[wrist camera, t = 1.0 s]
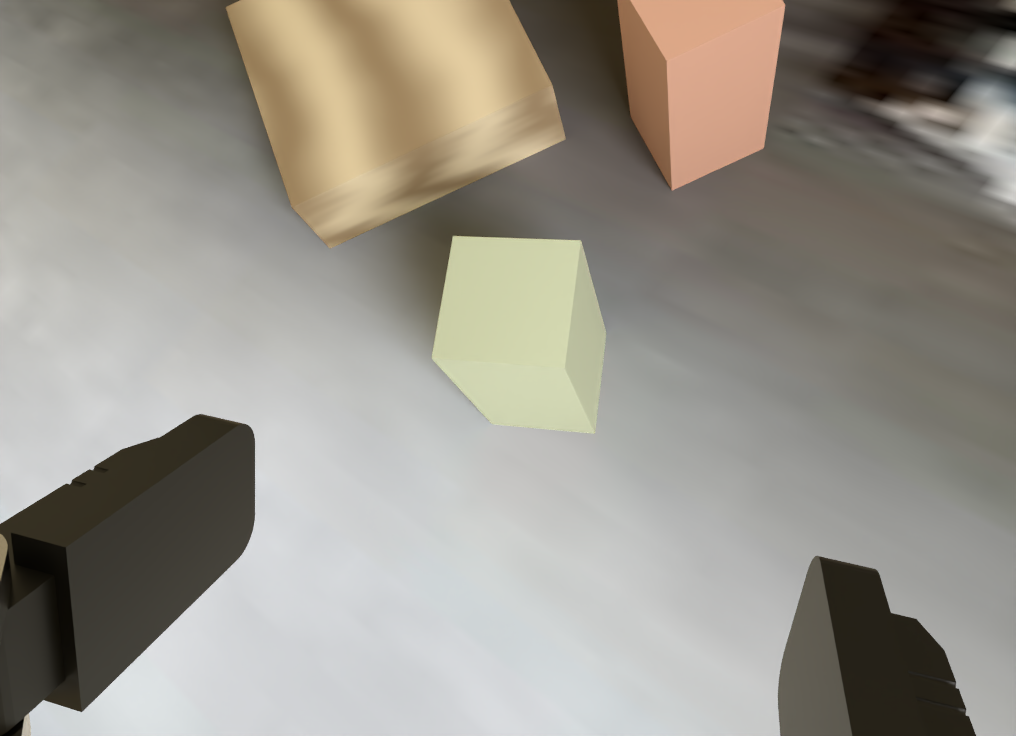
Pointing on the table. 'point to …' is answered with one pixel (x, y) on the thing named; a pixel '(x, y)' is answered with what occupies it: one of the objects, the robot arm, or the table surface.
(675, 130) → the clay-red block
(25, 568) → the robot arm
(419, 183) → the birch plinth block
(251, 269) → the table surface
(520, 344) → the sage-green block
